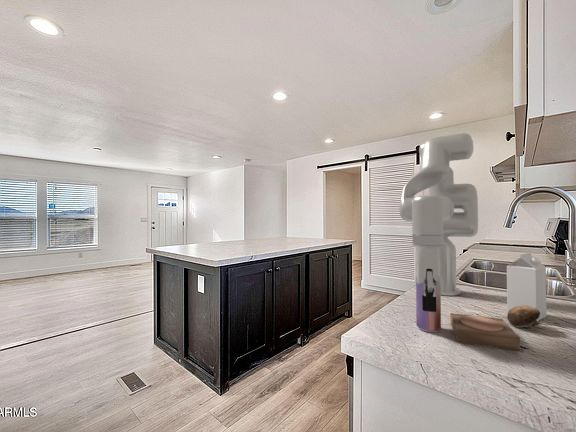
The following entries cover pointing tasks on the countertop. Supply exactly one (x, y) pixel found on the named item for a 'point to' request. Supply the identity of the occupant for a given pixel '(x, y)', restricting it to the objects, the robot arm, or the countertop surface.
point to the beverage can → (425, 318)
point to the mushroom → (523, 316)
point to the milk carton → (527, 284)
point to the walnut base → (484, 331)
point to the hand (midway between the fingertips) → (428, 306)
